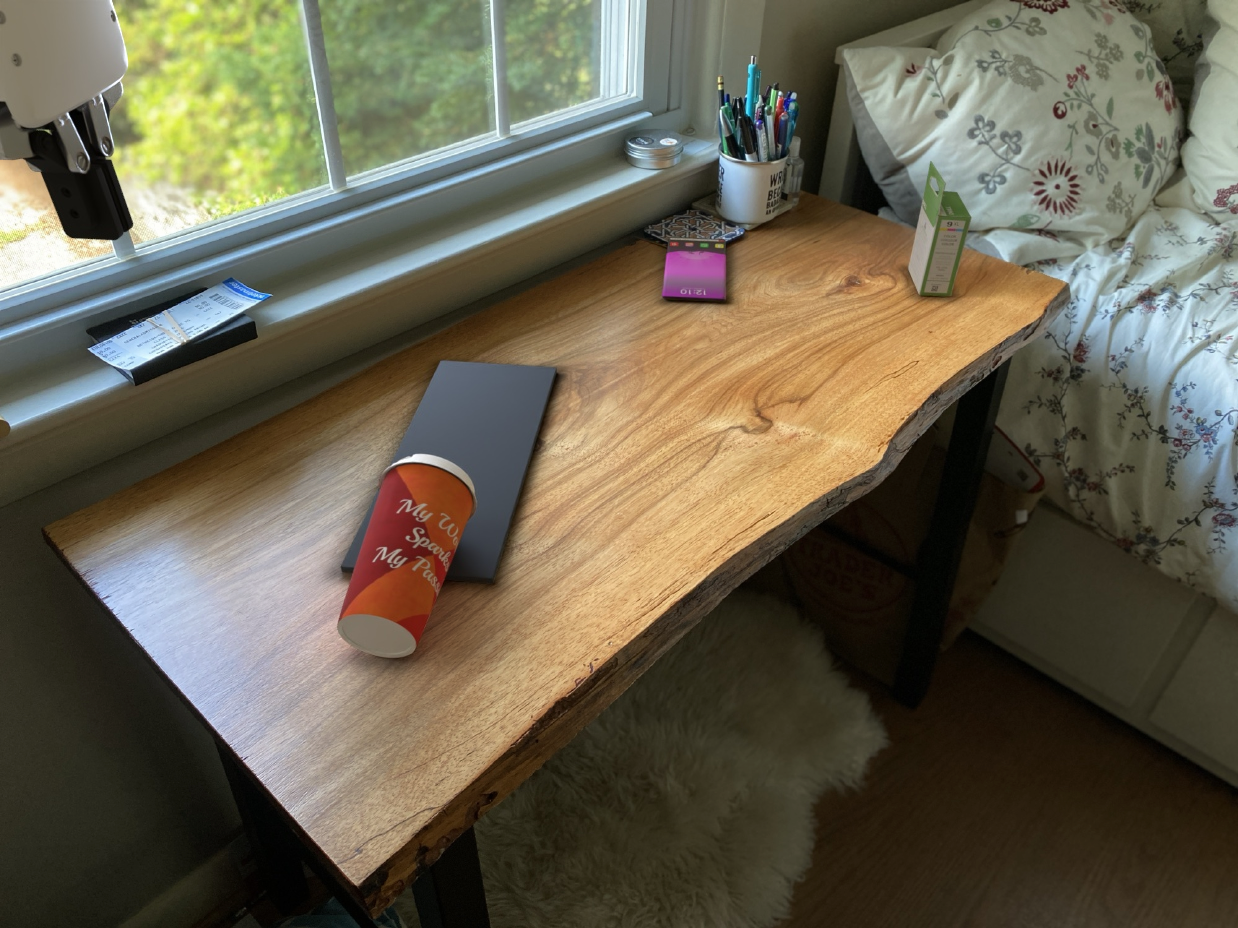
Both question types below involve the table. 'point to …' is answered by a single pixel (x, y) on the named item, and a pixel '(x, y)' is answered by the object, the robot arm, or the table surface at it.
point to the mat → (477, 450)
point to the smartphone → (695, 269)
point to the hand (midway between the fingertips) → (101, 232)
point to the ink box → (938, 239)
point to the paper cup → (405, 554)
